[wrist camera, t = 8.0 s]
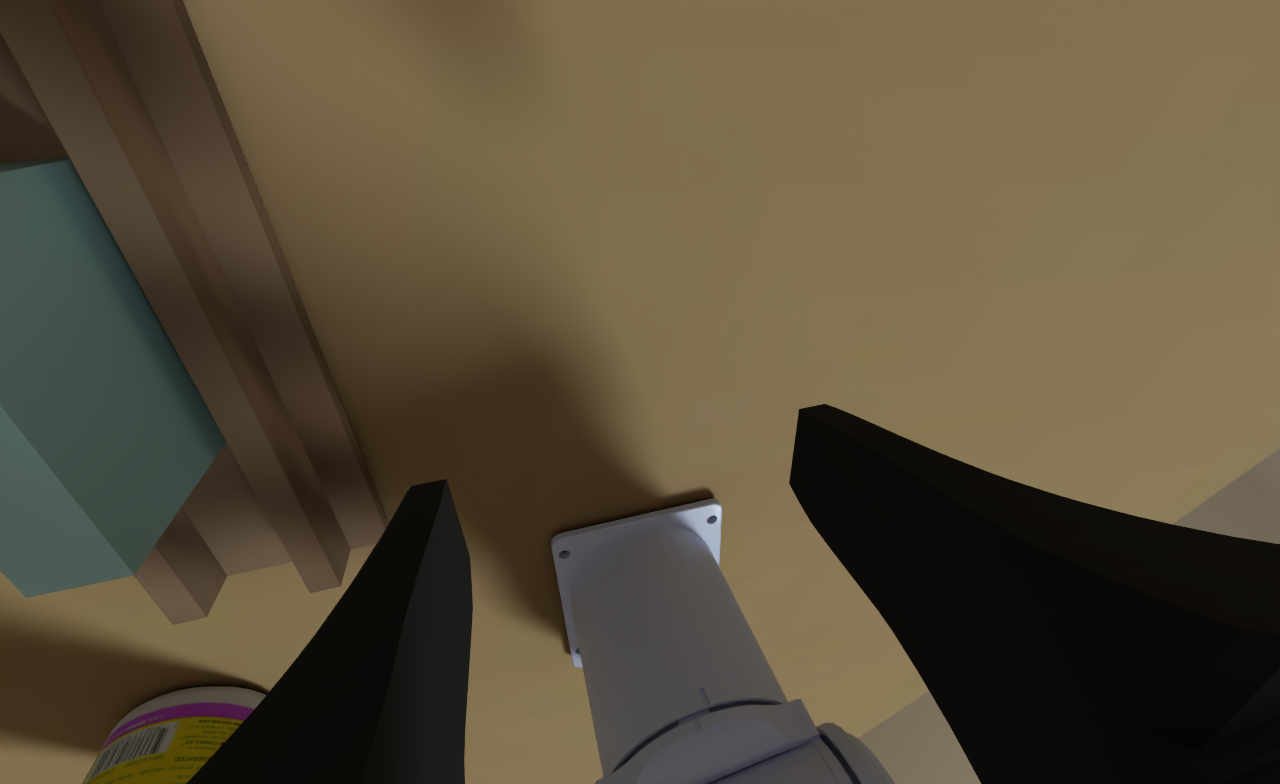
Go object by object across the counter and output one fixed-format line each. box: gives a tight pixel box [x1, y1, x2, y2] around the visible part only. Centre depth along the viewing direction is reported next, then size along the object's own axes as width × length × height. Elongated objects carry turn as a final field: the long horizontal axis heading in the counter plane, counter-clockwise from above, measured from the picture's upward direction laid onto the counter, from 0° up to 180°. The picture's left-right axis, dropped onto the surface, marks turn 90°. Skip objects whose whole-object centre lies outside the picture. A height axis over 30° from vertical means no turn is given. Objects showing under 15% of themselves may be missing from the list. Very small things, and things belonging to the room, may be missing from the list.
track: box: [0, 0, 389, 625], centre depth 12 cm, size 21×8×7 cm, turn 2°
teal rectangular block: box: [0, 158, 226, 597], centre depth 12 cm, size 8×2×6 cm, turn 2°
